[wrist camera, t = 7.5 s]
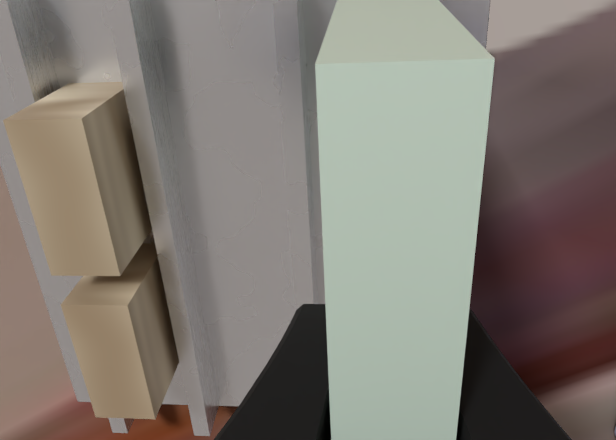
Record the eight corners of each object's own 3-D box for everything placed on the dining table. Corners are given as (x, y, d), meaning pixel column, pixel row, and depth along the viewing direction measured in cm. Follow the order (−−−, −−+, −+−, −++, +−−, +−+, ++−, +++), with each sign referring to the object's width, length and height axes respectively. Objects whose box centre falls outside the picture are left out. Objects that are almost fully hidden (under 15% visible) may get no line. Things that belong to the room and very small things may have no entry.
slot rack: (487, -52, 15) (508, -46, 13) (448, 393, 23) (457, 444, 20) (-38, -25, 17) (-100, -16, 14) (88, 383, 24) (60, 430, 22)
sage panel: (409, -31, 11) (494, 59, 4) (397, 369, 15) (425, 746, 8) (346, -28, 11) (315, 64, 4) (353, 368, 16) (343, 739, 8)
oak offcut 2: (165, 243, 19) (127, 305, 16) (185, 346, 21) (155, 419, 18) (108, 243, 19) (60, 304, 16) (134, 345, 21) (95, 417, 18)
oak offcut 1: (134, 81, 17) (81, 118, 14) (160, 217, 19) (119, 276, 16) (69, 83, 17) (3, 120, 14) (102, 217, 19) (51, 275, 16)
